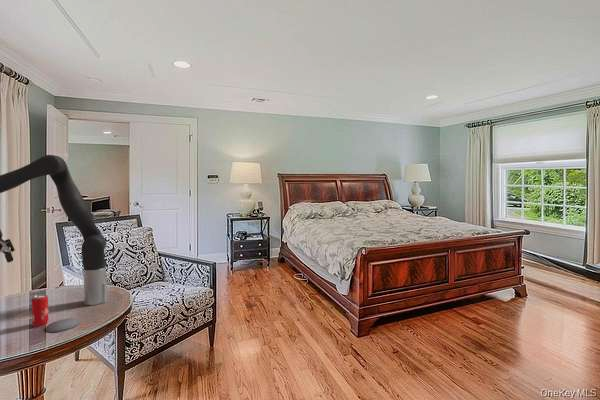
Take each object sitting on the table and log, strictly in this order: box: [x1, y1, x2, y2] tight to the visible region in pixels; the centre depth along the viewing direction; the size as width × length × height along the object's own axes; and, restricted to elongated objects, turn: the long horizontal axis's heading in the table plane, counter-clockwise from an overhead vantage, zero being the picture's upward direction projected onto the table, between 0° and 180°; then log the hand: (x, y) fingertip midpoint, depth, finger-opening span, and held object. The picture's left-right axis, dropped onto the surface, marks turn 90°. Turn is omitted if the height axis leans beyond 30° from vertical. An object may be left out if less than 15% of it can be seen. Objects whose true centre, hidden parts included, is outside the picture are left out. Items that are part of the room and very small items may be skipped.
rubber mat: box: [45, 318, 80, 333], centre depth 129 cm, size 11×11×1 cm
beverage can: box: [31, 294, 49, 328], centre depth 129 cm, size 5×5×12 cm
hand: (1, 263), depth 133 cm, fingers open, 8 cm apart
